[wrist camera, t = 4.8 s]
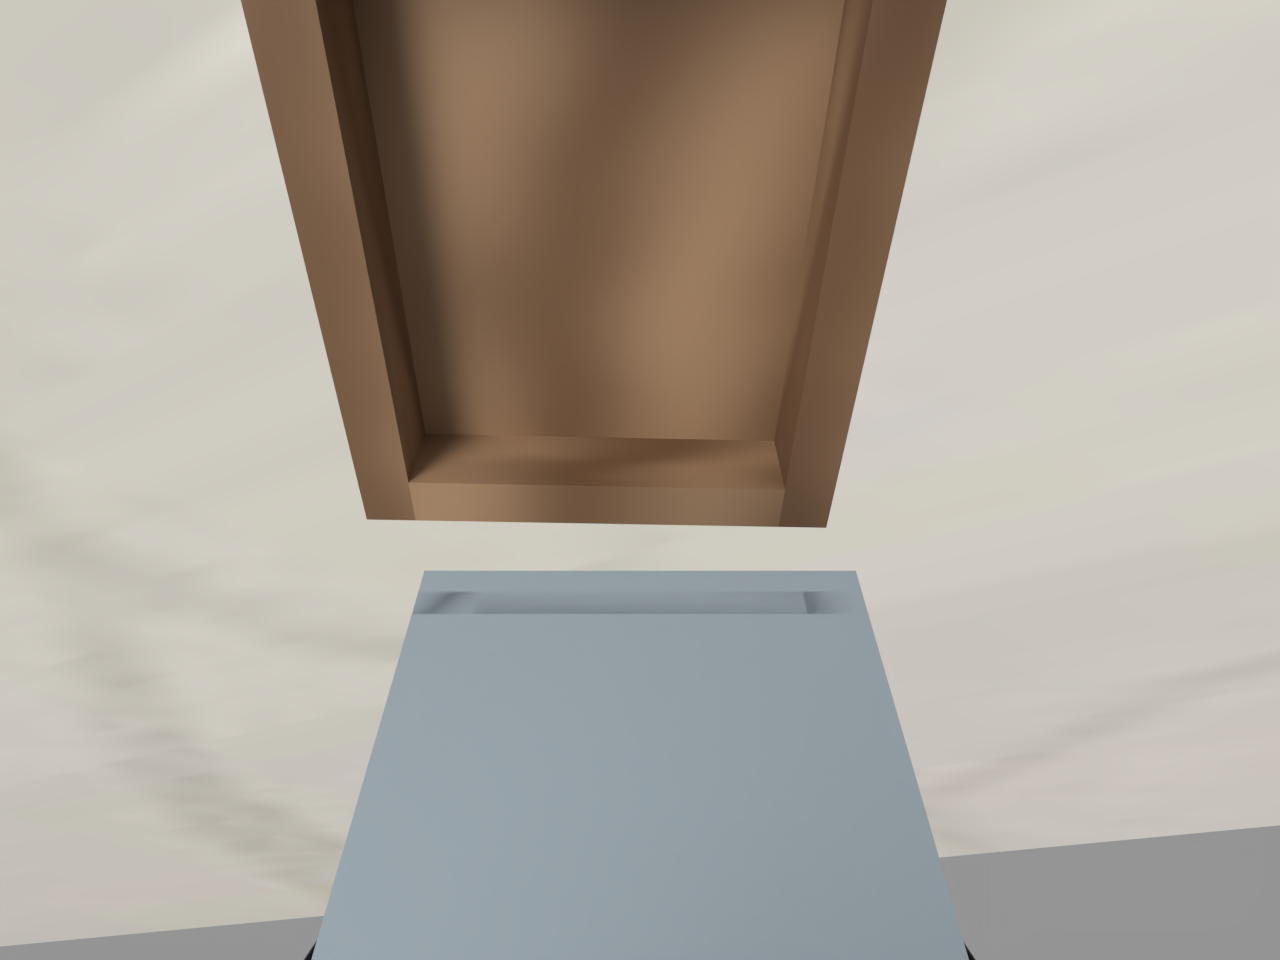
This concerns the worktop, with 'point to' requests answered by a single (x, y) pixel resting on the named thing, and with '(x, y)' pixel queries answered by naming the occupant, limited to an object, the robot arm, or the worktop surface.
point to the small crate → (640, 778)
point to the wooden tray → (596, 243)
